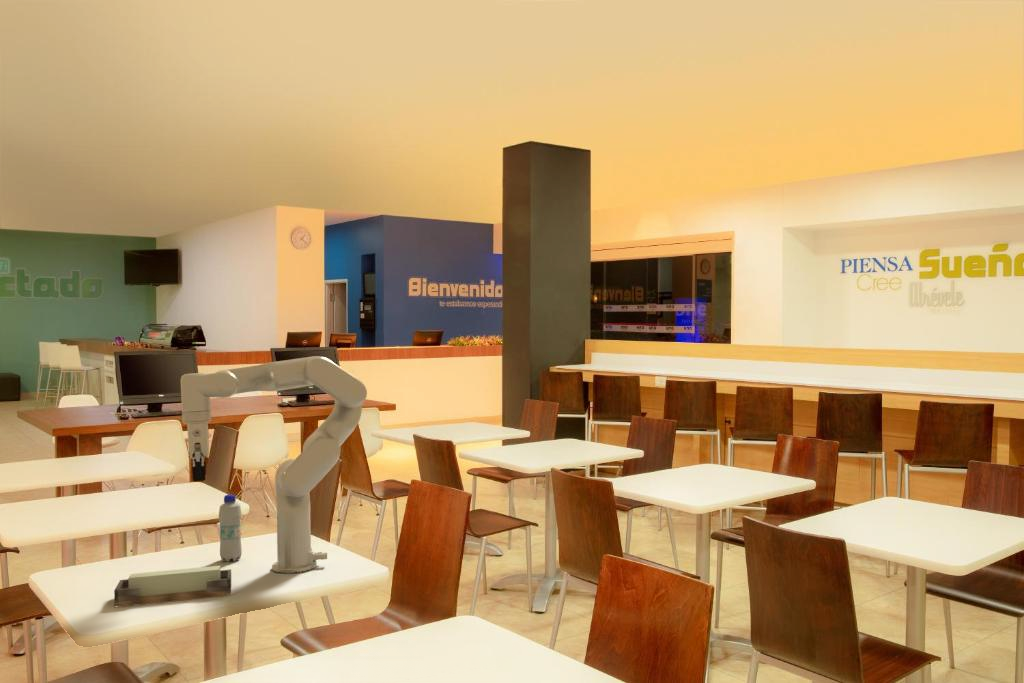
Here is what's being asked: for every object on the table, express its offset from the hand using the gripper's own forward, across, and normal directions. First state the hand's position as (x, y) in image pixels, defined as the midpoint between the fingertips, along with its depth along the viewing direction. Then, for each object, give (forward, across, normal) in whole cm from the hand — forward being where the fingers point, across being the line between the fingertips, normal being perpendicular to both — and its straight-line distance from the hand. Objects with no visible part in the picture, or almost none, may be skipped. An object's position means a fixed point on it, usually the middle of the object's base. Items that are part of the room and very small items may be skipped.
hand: (199, 478), depth 229 cm
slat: (+27, -13, +7) cm, 31 cm away
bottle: (+29, +18, -7) cm, 35 cm away
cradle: (+28, -14, +7) cm, 32 cm away
